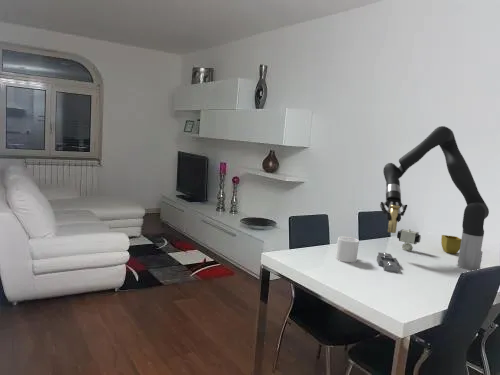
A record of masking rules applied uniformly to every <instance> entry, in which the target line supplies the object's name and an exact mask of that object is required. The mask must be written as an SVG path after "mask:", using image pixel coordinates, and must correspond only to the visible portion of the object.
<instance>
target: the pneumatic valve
mask: <svg viewBox="0 0 500 375" xmlns="http://www.w3.org/2000/svg"><path fill="white" fill-rule="evenodd" d="M396 234H397V235H396V238H397V239H398V241H399V242H403V243H402V245H401V248H402V250H403V251H406V252H410V251H412V250H413V248H414V246H413V245H416V244H419V243H420V242H421V239H422V238H421V237H422V236H421V234H420V233H419V232H418V231H413V230H411V229H400V230H398V231H397V233H396Z"/></svg>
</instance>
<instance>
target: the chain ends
mask: <svg viewBox="0 0 500 375" xmlns="http://www.w3.org/2000/svg"><path fill="white" fill-rule="evenodd" d="M376 263H377V264H378V266H379V267H381V268H382V269H383V271H386V272H391V273H392V272H393V273H399V268H400V262H399V261H398V259H397V258H396V257H393V255H392V254H391V253H387V252H378V253H377V256H376Z"/></svg>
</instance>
